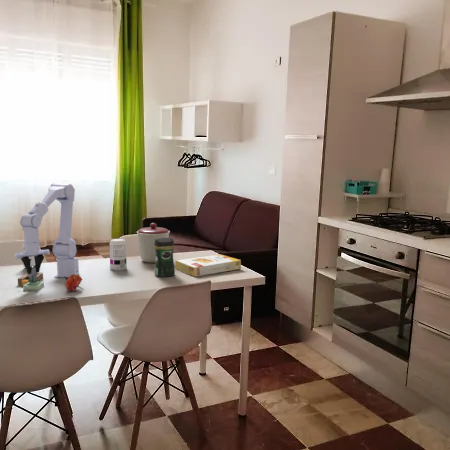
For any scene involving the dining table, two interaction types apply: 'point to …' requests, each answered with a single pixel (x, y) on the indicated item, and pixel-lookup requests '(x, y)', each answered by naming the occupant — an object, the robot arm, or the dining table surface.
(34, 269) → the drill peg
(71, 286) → the pomegranate
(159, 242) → the coffee jar
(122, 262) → the supplement can
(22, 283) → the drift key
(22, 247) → the syrup box
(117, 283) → the dining table surface
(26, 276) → the socket block
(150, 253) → the canister
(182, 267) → the cereal box
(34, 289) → the tray
